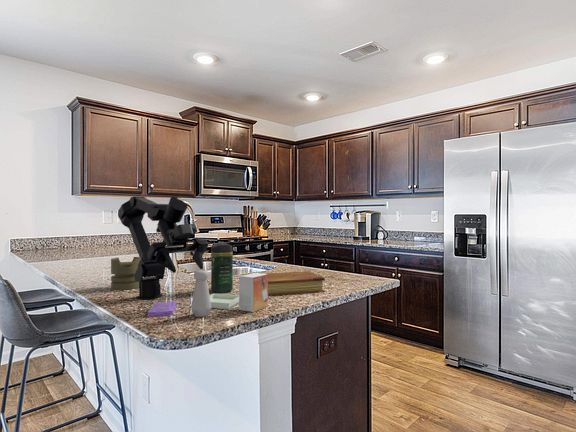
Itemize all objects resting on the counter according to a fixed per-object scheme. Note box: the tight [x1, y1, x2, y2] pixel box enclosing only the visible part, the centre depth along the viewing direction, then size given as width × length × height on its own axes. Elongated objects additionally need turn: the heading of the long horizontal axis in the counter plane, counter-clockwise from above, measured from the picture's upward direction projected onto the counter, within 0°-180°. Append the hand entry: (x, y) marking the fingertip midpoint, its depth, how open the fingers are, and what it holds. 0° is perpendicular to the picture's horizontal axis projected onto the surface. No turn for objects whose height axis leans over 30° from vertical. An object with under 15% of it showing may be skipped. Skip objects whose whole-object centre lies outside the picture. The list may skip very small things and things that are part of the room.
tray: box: [209, 293, 239, 310], centre depth 119 cm, size 12×12×2 cm
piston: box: [110, 256, 140, 291], centre depth 146 cm, size 11×12×11 cm
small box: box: [238, 272, 269, 313], centre depth 113 cm, size 8×6×10 cm
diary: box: [265, 270, 326, 296], centre depth 143 cm, size 23×19×6 cm
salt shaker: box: [190, 269, 212, 318], centre depth 105 cm, size 6×6×13 cm
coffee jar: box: [210, 242, 234, 294], centre depth 140 cm, size 10×8×19 cm
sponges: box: [147, 300, 178, 318], centre depth 111 cm, size 7×13×2 cm, turn 12°
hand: (189, 270), depth 110 cm, fingers open, 9 cm apart
